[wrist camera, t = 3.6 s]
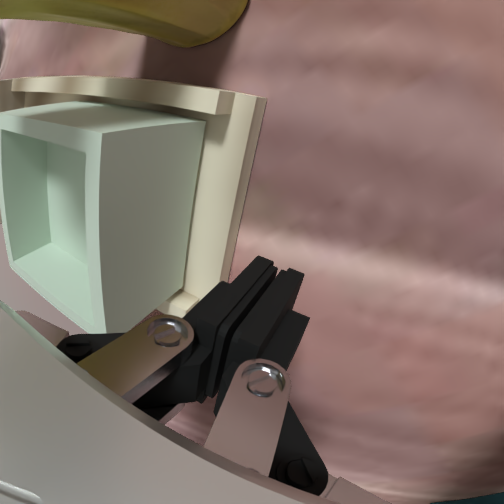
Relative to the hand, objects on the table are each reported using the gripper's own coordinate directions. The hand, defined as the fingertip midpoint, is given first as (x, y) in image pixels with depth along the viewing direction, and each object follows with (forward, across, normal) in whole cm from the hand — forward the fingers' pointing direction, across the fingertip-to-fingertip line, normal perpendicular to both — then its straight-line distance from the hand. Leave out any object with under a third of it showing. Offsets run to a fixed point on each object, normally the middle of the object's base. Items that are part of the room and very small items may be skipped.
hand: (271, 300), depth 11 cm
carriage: (+4, +10, 0) cm, 11 cm away
